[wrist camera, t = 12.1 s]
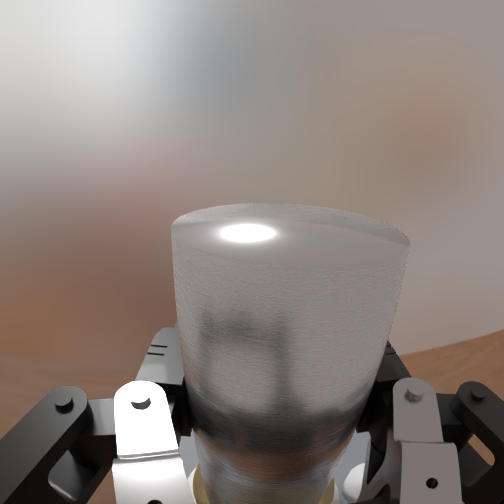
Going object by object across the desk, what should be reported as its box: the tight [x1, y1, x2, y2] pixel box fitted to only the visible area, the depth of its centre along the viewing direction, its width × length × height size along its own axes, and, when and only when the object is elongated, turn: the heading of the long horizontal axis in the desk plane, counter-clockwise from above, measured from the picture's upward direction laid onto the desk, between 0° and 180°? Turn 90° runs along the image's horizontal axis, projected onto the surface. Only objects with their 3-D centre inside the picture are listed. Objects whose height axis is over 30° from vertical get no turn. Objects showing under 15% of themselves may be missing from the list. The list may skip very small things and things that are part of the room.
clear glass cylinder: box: [171, 203, 410, 504], centre depth 8 cm, size 6×6×12 cm
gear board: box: [179, 429, 370, 504], centre depth 10 cm, size 13×9×2 cm
